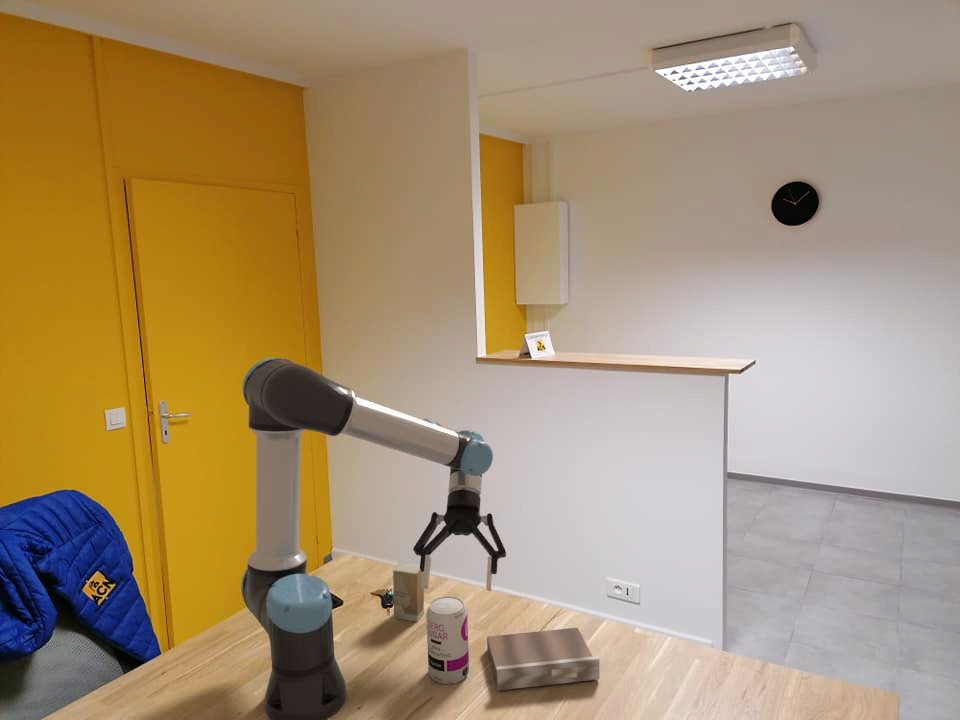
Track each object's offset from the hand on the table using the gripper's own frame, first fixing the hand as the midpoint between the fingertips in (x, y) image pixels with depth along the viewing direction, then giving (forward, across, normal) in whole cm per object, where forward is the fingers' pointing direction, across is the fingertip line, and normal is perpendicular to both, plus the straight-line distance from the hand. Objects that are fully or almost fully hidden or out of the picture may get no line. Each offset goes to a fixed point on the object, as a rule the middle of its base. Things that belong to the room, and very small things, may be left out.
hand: (456, 587), depth 148 cm
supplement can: (+16, +1, -4) cm, 17 cm away
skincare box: (+1, +14, -20) cm, 24 cm away
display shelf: (+13, -18, -8) cm, 23 cm away
